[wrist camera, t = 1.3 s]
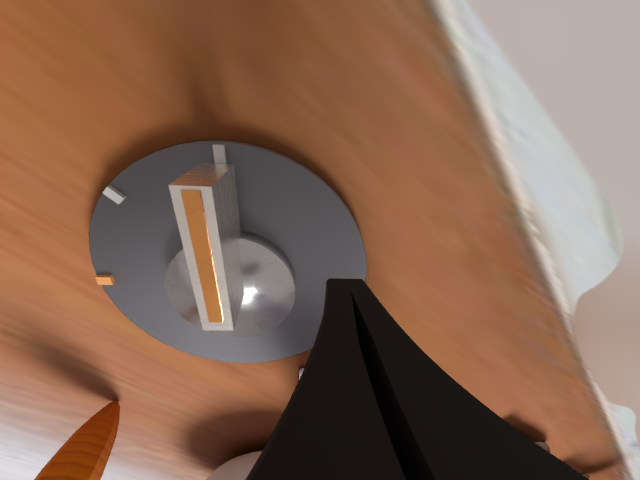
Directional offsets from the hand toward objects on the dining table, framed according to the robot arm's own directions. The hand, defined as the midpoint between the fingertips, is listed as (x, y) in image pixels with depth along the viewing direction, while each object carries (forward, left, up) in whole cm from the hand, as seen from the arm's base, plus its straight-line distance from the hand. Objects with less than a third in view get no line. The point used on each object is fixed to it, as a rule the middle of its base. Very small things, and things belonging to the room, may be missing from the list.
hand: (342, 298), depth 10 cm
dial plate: (-6, +6, -9) cm, 13 cm away
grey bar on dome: (-4, +7, -8) cm, 11 cm away
